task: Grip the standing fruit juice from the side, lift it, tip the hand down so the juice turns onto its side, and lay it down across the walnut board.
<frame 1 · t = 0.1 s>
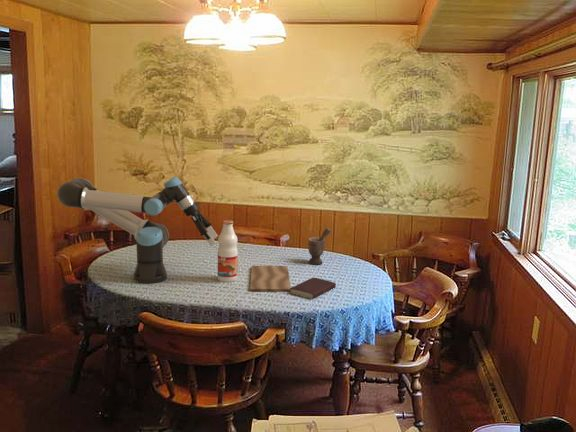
hand: (214, 240, 261), 15 cm above the table, tool tilted 35°, fingers open, 13 cm apart
book: (312, 292, 239), on the table
mortar and pestle: (318, 263, 281), on the table
walnut board: (270, 279, 254), on the table
fruit juice: (227, 279, 252), on the table
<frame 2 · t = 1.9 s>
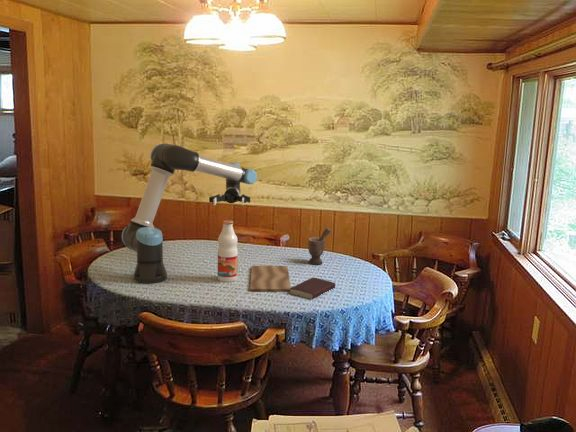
hand: (228, 202, 256), 35 cm above the table, tool horizontal, fingers open, 13 cm apart
nothing on the table moved.
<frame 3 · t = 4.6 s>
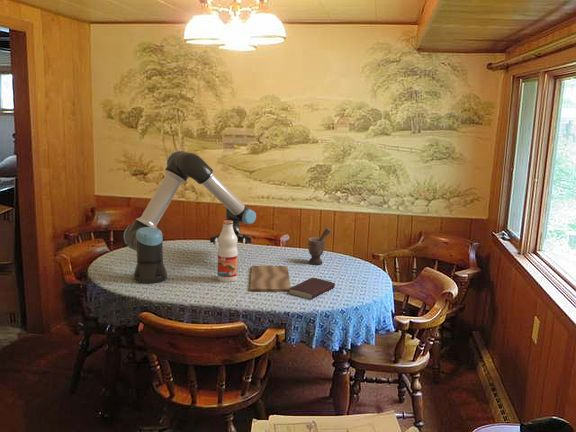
hand: (229, 244, 257), 15 cm above the table, tool horizontal, fingers open, 13 cm apart
nothing on the table moved.
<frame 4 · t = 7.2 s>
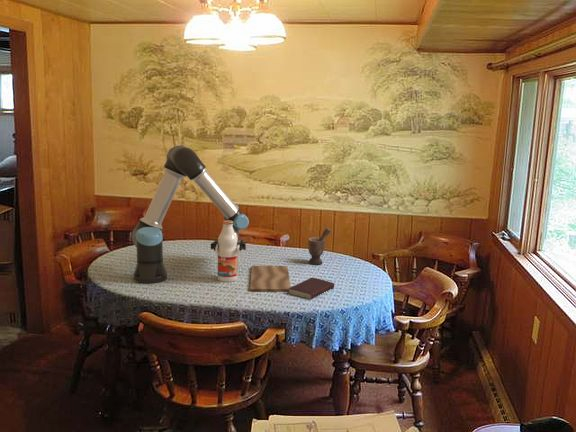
hand: (227, 250, 244), 15 cm above the table, tool horizontal, fingers closed on fruit juice, 9 cm apart
fruit juice: (227, 279, 252), on the table, touching gripper
everything else where it was.
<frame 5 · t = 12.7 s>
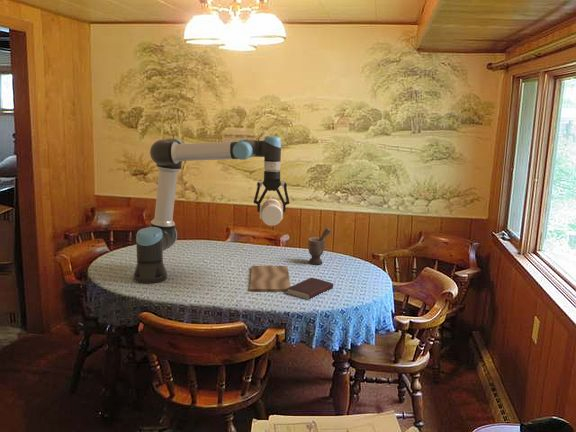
hand: (271, 218, 248), 29 cm above the table, tool pointing down, fingers closed on fruit juice, 9 cm apart
fruit juice: (271, 215, 232), point 34 cm above the table, touching gripper
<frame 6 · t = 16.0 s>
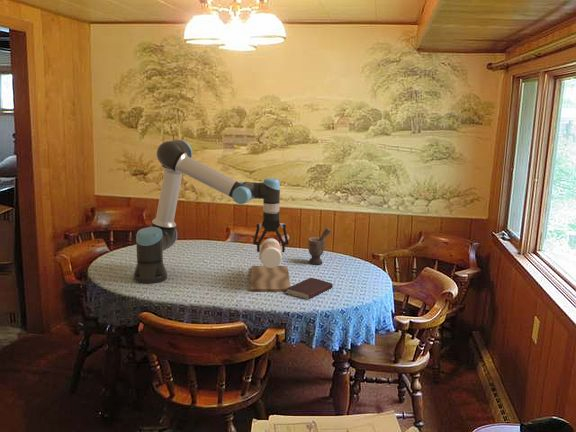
hand: (270, 258, 252), 10 cm above the table, tool pointing down, fingers closed on fruit juice, 9 cm apart
fruit juice: (271, 258, 236), point 14 cm above the table, touching gripper
when the fingers open (3 cm above the table, at t = 18.5 s): fruit juice drops 2 cm, resting on walnut board.
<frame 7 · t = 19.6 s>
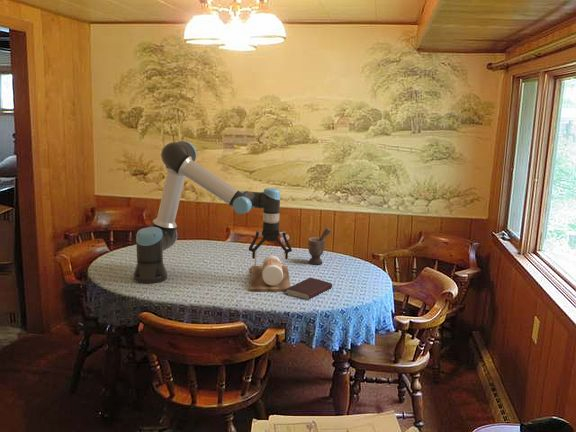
hand: (269, 265, 252), 7 cm above the table, tool pointing down, fingers open, 13 cm apart
fruit juice: (272, 276, 238), point 6 cm above the table, touching walnut board
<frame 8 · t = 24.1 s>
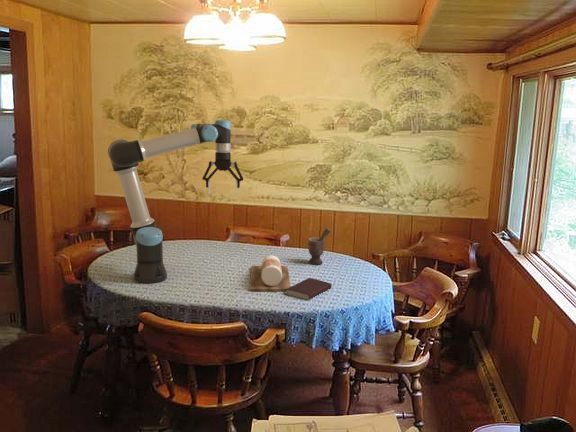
hand: (222, 194, 268), 37 cm above the table, tool pointing down, fingers open, 13 cm apart
at the end: fruit juice tilted 90°; fruit juice inside the target area (15.0 cm from its centre), point 5.9 cm above the table; the gripper is holding nothing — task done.
